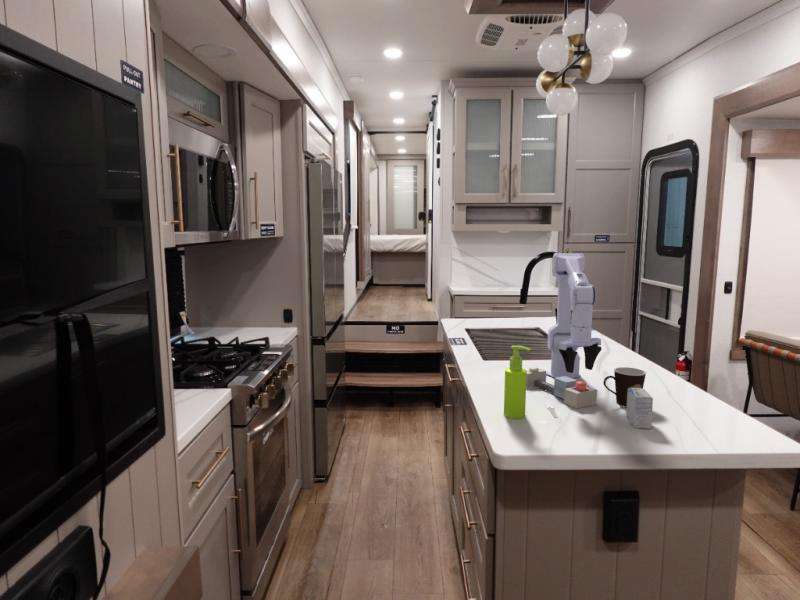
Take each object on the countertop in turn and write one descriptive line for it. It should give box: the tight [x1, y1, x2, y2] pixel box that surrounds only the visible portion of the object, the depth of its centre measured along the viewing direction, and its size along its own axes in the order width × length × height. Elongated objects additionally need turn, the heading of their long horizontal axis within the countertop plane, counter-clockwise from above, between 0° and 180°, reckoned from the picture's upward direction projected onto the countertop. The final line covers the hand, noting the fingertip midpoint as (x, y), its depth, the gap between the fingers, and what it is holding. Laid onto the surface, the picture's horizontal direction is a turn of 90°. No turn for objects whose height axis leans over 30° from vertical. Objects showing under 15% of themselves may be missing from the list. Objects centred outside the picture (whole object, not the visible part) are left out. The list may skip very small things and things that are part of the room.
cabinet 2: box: [563, 385, 598, 409], centre depth 149 cm, size 8×5×4 cm, turn 115°
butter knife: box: [546, 407, 559, 419], centre depth 138 cm, size 1×24×3 cm
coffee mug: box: [603, 366, 647, 407], centre depth 150 cm, size 12×9×10 cm
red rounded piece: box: [575, 380, 587, 392], centre depth 149 cm, size 3×3×4 cm
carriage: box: [553, 376, 578, 400], centre depth 155 cm, size 4×5×6 cm
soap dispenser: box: [503, 344, 532, 420], centre depth 139 cm, size 6×7×20 cm
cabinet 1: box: [526, 366, 547, 388], centre depth 168 cm, size 8×3×6 cm, turn 115°
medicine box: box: [625, 388, 654, 430], centre depth 134 cm, size 8×4×9 cm, turn 170°
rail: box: [533, 379, 554, 395], centre depth 159 cm, size 2×17×2 cm, turn 25°
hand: (579, 370), depth 149 cm, fingers open, 7 cm apart
